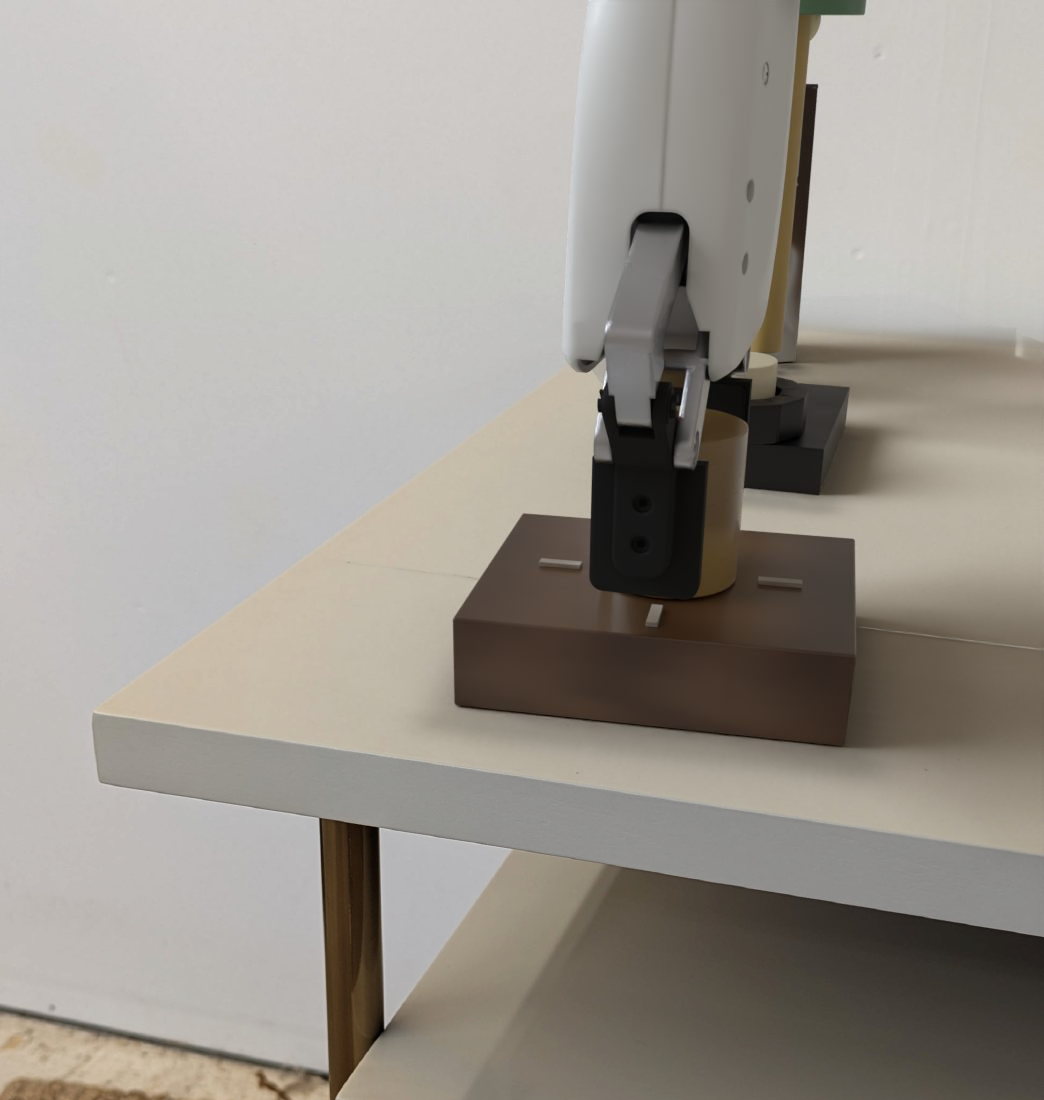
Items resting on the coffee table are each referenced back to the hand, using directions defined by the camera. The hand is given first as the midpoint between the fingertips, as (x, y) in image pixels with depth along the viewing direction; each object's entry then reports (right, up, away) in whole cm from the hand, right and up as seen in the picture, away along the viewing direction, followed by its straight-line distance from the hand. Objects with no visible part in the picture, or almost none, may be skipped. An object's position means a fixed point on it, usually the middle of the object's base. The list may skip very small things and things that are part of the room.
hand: (673, 535), depth 43 cm
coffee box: (+7, +17, +43) cm, 47 cm away
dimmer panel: (0, -4, +2) cm, 4 cm away
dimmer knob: (0, -1, +1) cm, 1 cm away
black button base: (+6, +7, +24) cm, 25 cm away
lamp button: (+5, +9, +19) cm, 22 cm away
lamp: (+8, +13, +27) cm, 31 cm away
